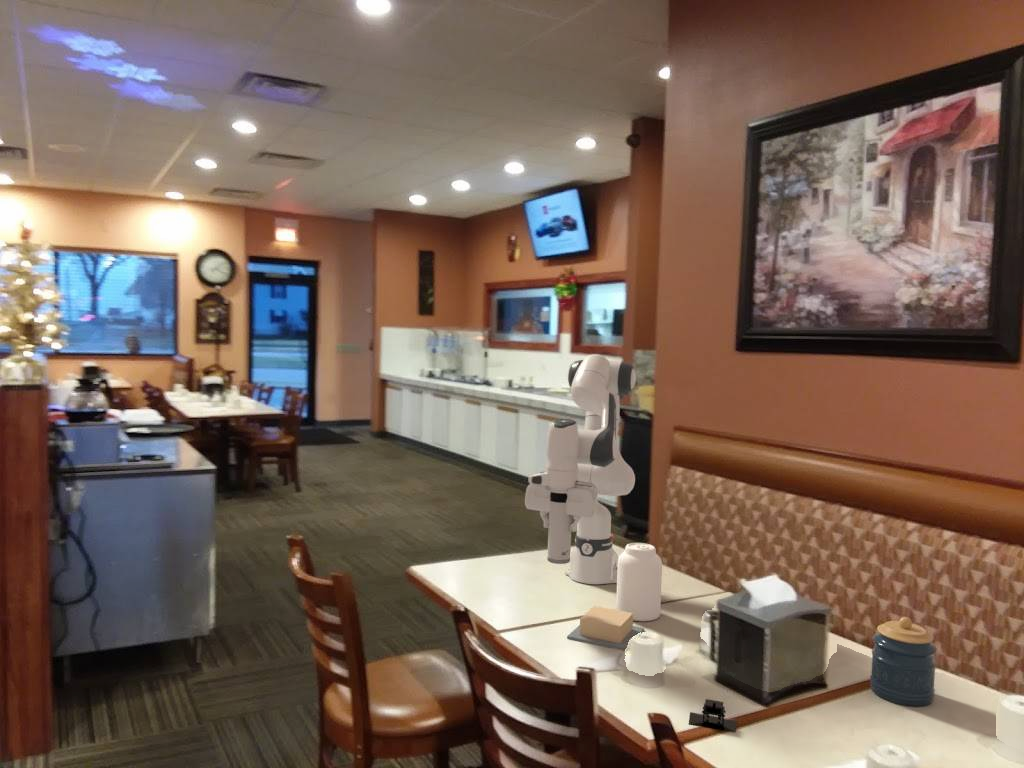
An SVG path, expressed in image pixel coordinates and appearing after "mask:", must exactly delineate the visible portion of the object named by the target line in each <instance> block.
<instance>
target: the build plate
mask: <svg viewBox="0 0 1024 768" xmlns="http://www.w3.org/2000/svg"><path fill="white" fill-rule="evenodd" d="M724 705H725V703H724V701H718V700H713V699H707V698H705V702H704V703H703V706H702V710H701V713H698V712H692V711H691V712H689V717H688V718H689V719H688V725H689V726H693V727H694V726H695V727H699V728H700V727H701V728H704V729H705V728H707V729H710V730H711V729H712V730H717V731H724V732H728V733H737V726H738V720H737V719H731V718H726V714H725V713H726V711H727V710H726V707H725V706H724Z"/></svg>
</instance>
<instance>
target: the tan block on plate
mask: <svg viewBox="0 0 1024 768" xmlns="http://www.w3.org/2000/svg"><path fill="white" fill-rule="evenodd" d="M633 624H634V620H633V613H630V612H624V611H619V610H616V609H615V608H614V609H613V608H608V607H602V606H598V605H597V606H596V605H594V606H592V608H590V609H589V610H588V611H587V612H586V613H584V614H583V615H582V616H581V617H580V618H579V625H578V626H577V627H575V629H573V630H572V631H571V632H570V633H569V634H568V635H567V637H566V639H569V640H573V641H577V642H583V643H587V644H592V645H596V646H602V647H606V648H611V649H616V650H620V651H625V649H626V648H627V645H628V642H629V640H630V639H631V638H632V637H633V636H635V635H637V634H638V633H640V632H642V633H643V632H644V631H645V628H644V627H641V626H636V625H633Z"/></svg>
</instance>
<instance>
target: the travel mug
mask: <svg viewBox="0 0 1024 768" xmlns="http://www.w3.org/2000/svg"><path fill="white" fill-rule="evenodd" d="M550 497H551V498H550V511H549V512H548V520H549V528H548V530H547V532H548V533H547V534H548V535H547V556H546V557H547V558H546V560H547V562H549V563H551V564H556V565H567V564H570V555H571V550H572V531H569V529H570V528H569V525H570V524H573V521H572V519H573V515H567V514H566V500H567V495H566V493H554V492H551V494H550Z"/></svg>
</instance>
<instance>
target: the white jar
mask: <svg viewBox="0 0 1024 768" xmlns="http://www.w3.org/2000/svg"><path fill="white" fill-rule="evenodd" d="M662 576H663V561H662V558H661V557H660V556H659V554H658V553H657V550H656V547H655V546H654V545H652V544H649V543H645V542H631V543H627V544H626V545H625V548H624V550H623V551H622V553H620V555H618V570H617V583H616V598H615V599H616V602H615V610H619V611H624V612H630V613H633V622H634V621H636V622H650V621H654V620H657V619H658V618H659V617H660V615H661V602H662V601H661V600H662V582H663V581H662V580H663V579H662Z"/></svg>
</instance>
